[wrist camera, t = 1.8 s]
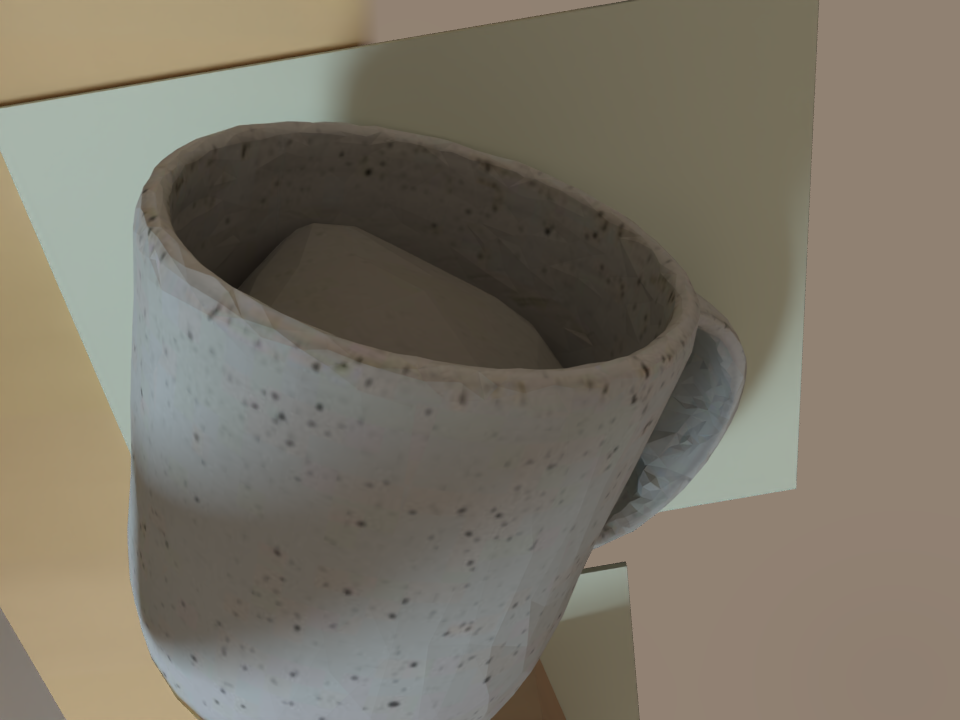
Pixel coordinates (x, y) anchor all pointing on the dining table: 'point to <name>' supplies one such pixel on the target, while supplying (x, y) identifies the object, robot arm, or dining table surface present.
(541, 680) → the walnut block
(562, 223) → the ceramic mug
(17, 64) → the dining table surface
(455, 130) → the plate
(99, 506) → the dining table surface
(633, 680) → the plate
